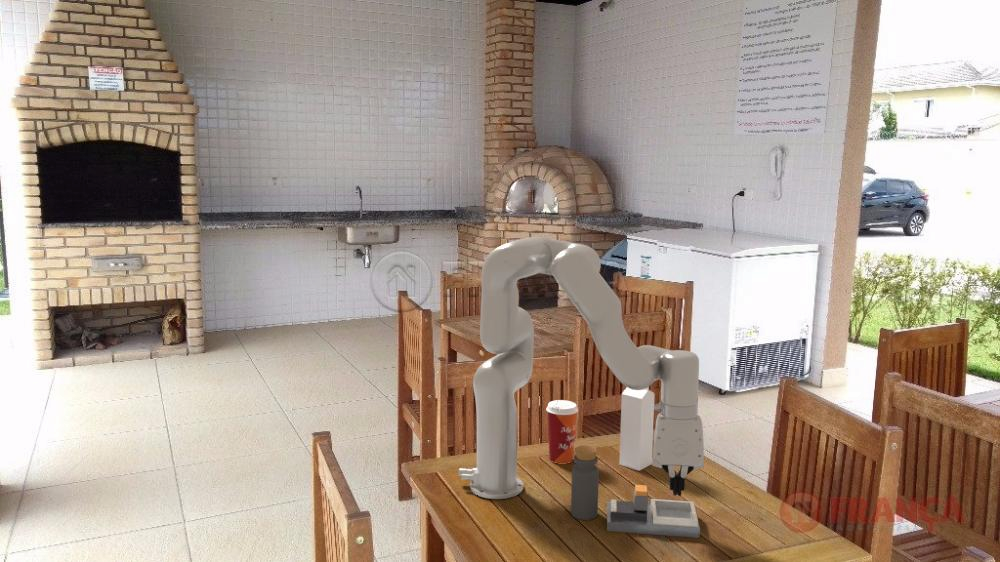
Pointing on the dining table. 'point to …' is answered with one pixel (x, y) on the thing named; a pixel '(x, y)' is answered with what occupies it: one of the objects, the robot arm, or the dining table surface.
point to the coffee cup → (561, 430)
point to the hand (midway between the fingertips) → (676, 493)
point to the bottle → (585, 484)
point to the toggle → (641, 498)
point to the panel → (654, 518)
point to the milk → (636, 428)
